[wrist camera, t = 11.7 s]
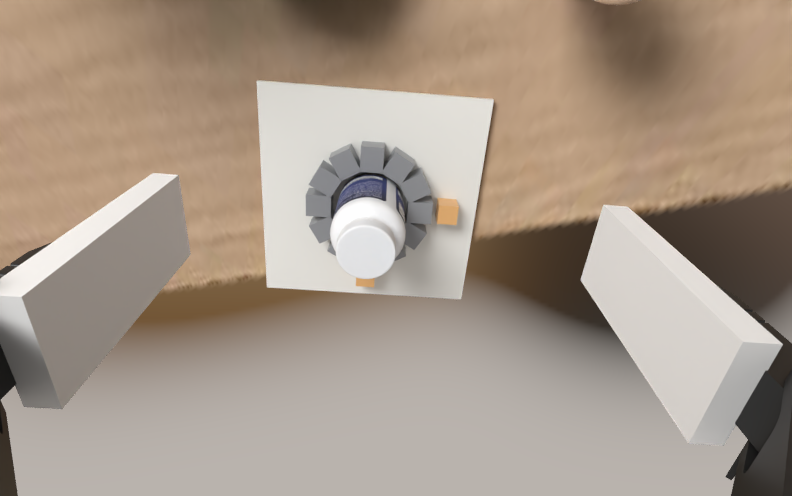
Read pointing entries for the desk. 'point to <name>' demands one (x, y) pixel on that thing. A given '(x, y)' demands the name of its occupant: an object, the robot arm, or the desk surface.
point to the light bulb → (616, 2)
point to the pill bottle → (368, 225)
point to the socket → (375, 153)
